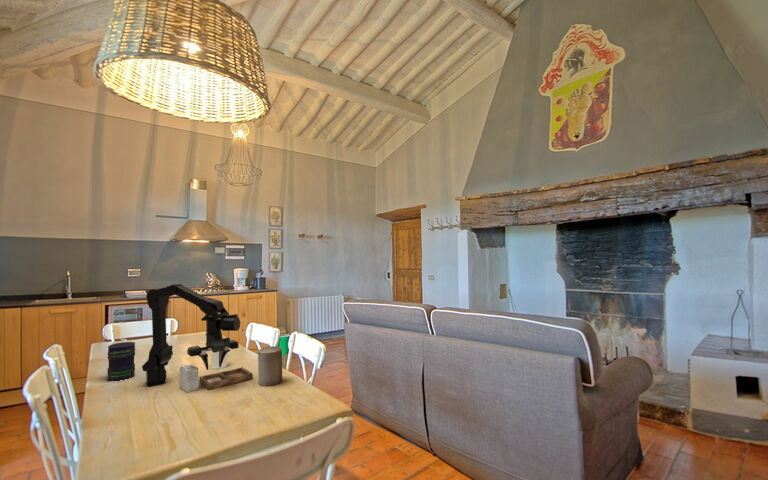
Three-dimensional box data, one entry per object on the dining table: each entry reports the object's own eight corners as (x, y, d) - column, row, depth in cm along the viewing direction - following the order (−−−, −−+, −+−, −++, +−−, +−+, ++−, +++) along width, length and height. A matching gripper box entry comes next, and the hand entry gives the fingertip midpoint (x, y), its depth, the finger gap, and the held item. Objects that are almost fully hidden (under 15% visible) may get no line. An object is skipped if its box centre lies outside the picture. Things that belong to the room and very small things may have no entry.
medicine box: (198, 389, 141) (198, 367, 141) (186, 393, 138) (187, 370, 138) (191, 385, 146) (191, 364, 146) (179, 388, 143) (179, 366, 143)
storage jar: (111, 384, 149) (111, 348, 150) (104, 379, 155) (104, 345, 156) (138, 377, 157) (138, 343, 158) (130, 373, 163) (130, 340, 164)
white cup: (223, 369, 166) (223, 348, 167) (207, 369, 166) (207, 348, 167) (231, 364, 174) (231, 343, 174) (215, 364, 174) (215, 344, 175)
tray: (207, 390, 140) (207, 384, 140) (199, 382, 149) (199, 376, 149) (252, 379, 152) (252, 373, 152) (242, 372, 161) (242, 367, 161)
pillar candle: (285, 378, 152) (285, 343, 153) (276, 386, 142) (276, 349, 143) (264, 377, 153) (264, 343, 154) (253, 386, 143) (253, 349, 144)
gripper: (194, 337, 136) (194, 378, 135) (243, 330, 148) (243, 367, 147) (187, 333, 144) (186, 371, 143) (234, 326, 156) (234, 362, 156)
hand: (213, 368), depth 147 cm, fingers open, 5 cm apart
